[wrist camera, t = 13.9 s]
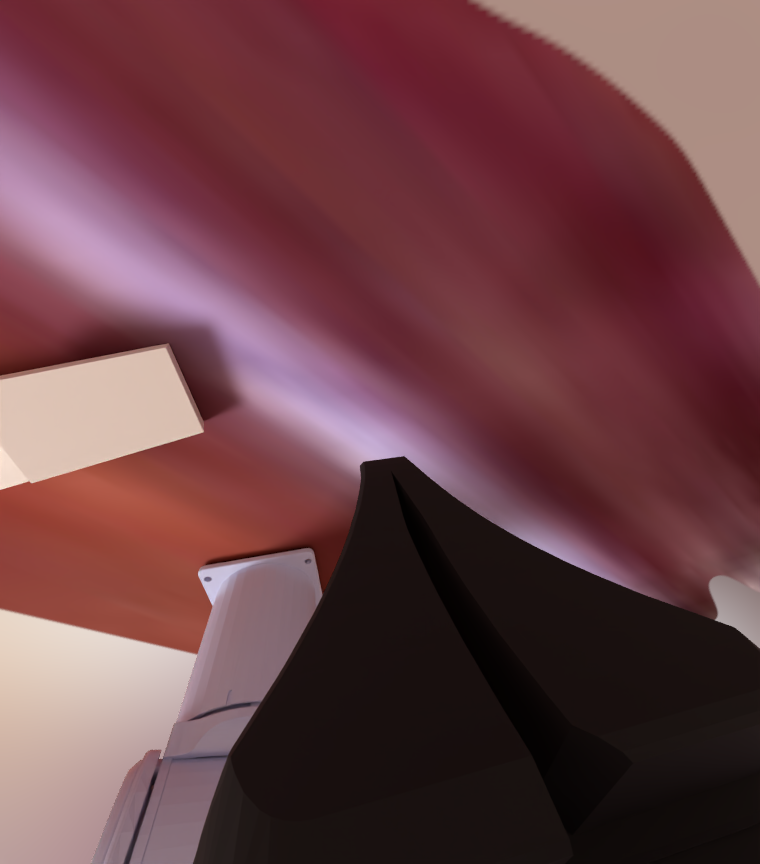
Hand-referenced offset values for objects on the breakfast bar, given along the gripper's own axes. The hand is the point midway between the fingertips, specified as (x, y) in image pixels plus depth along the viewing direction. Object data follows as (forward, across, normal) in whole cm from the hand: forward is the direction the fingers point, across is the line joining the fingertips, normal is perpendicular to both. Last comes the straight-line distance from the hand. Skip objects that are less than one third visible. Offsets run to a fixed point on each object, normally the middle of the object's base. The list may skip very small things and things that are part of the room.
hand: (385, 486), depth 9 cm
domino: (+9, +8, -1) cm, 12 cm away
